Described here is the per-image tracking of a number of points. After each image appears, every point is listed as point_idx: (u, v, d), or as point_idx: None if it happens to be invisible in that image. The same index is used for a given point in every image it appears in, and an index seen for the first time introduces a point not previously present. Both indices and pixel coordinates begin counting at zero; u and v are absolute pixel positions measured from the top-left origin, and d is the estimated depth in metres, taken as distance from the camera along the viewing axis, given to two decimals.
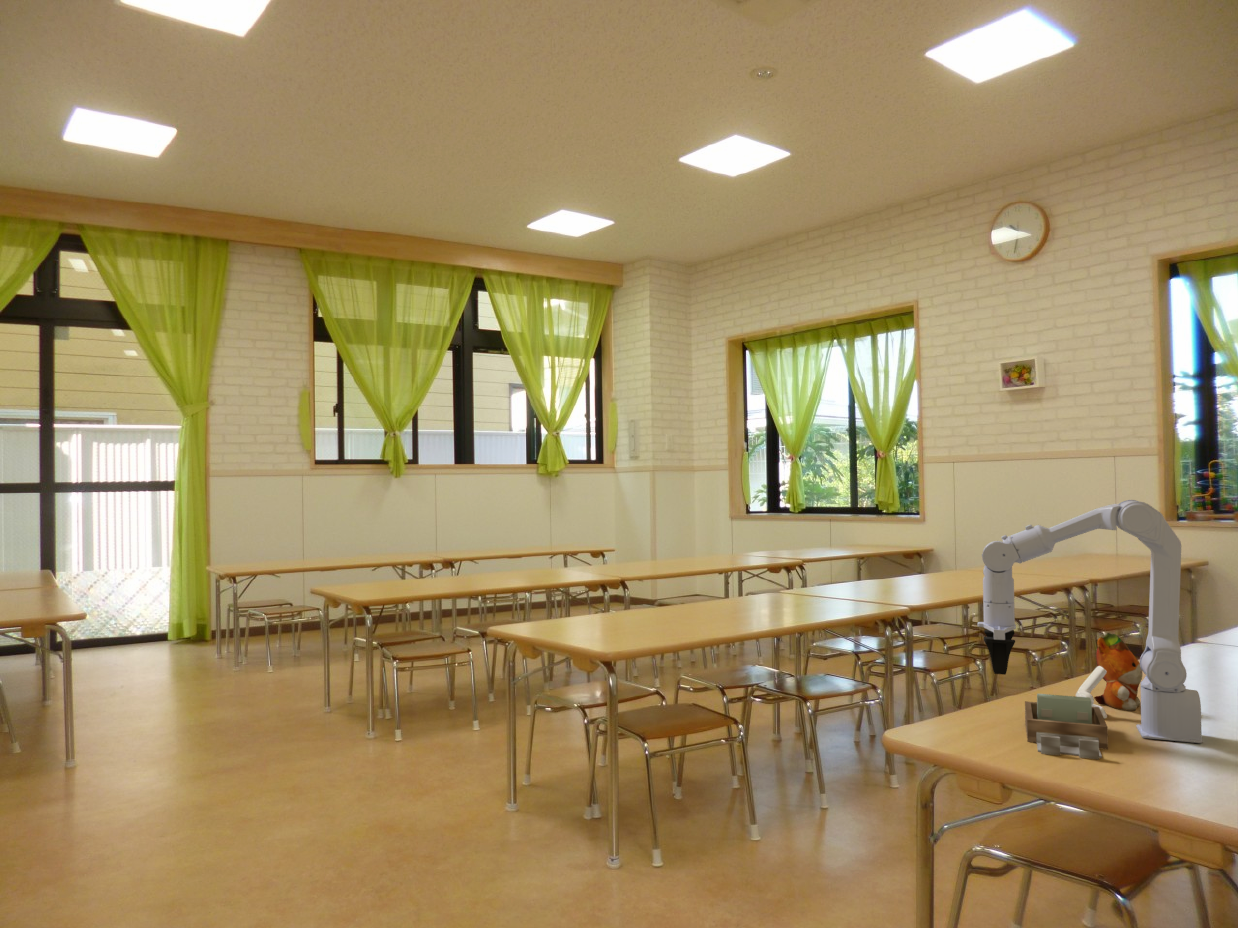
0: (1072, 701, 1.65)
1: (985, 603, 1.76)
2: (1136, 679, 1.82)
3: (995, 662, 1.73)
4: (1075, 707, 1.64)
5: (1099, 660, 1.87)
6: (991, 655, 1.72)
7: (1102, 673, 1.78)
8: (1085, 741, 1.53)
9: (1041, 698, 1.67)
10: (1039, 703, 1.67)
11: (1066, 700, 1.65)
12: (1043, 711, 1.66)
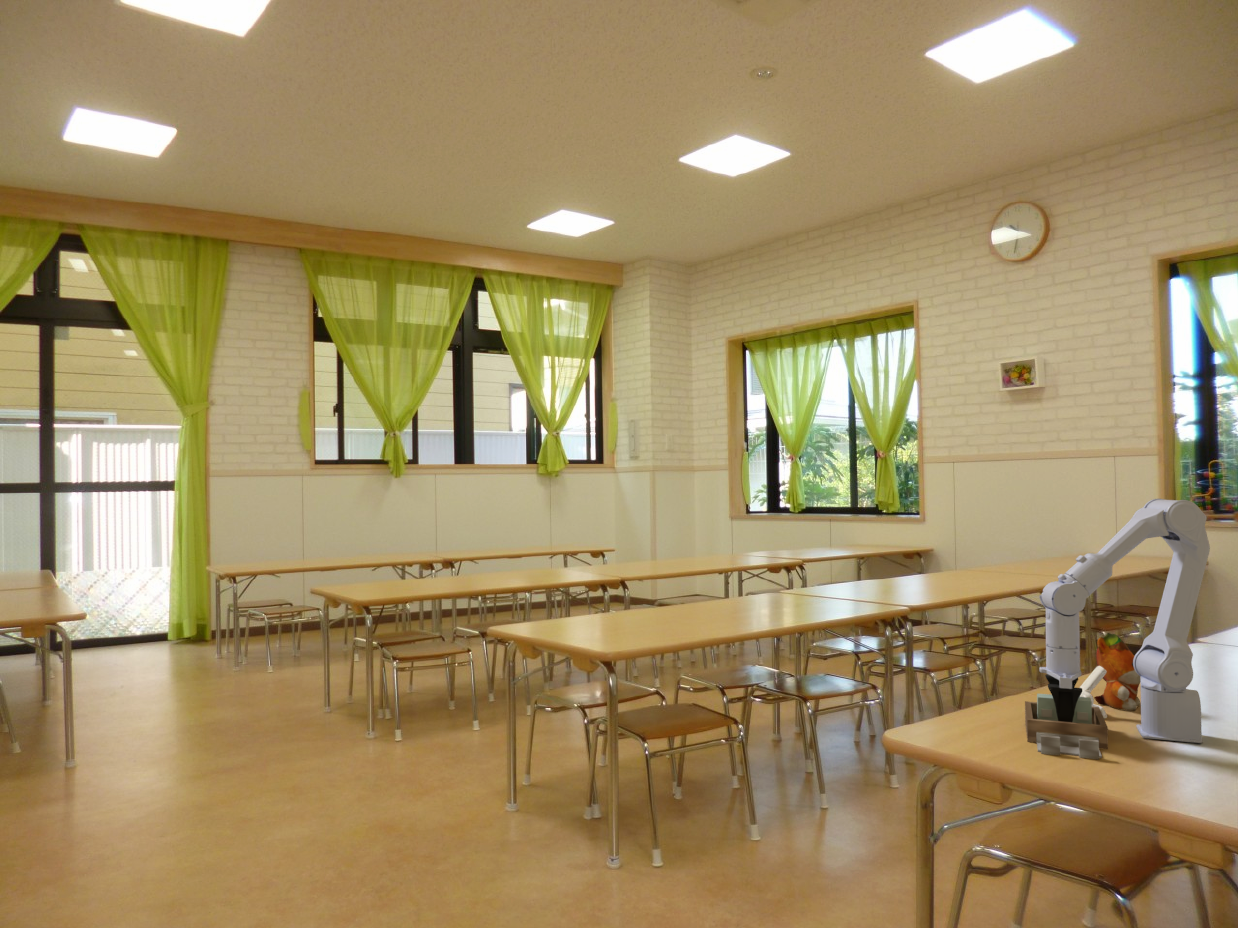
0: None
1: (1048, 648, 1.66)
2: (1136, 679, 1.82)
3: (1060, 711, 1.63)
4: (1075, 707, 1.64)
5: (1099, 660, 1.87)
6: (1056, 704, 1.63)
7: (1102, 673, 1.78)
8: (1085, 741, 1.53)
9: (1041, 698, 1.67)
10: (1039, 703, 1.67)
11: None
12: (1043, 711, 1.66)
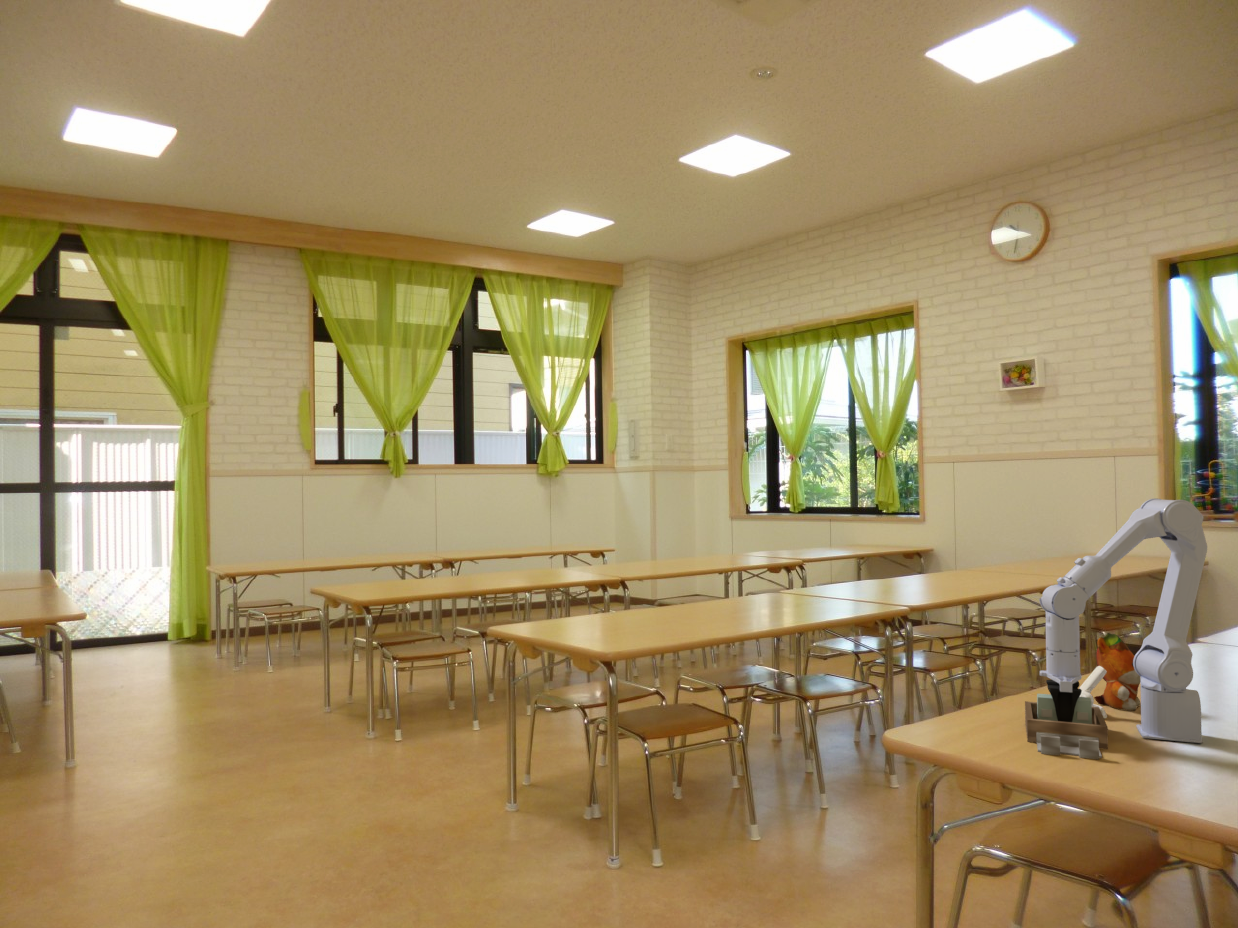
0: None
1: (1048, 651, 1.66)
2: (1136, 679, 1.82)
3: (1060, 712, 1.65)
4: (1075, 707, 1.64)
5: (1099, 660, 1.87)
6: (1056, 705, 1.64)
7: (1102, 673, 1.78)
8: (1085, 741, 1.53)
9: (1041, 698, 1.67)
10: (1039, 703, 1.67)
11: None
12: (1043, 711, 1.66)
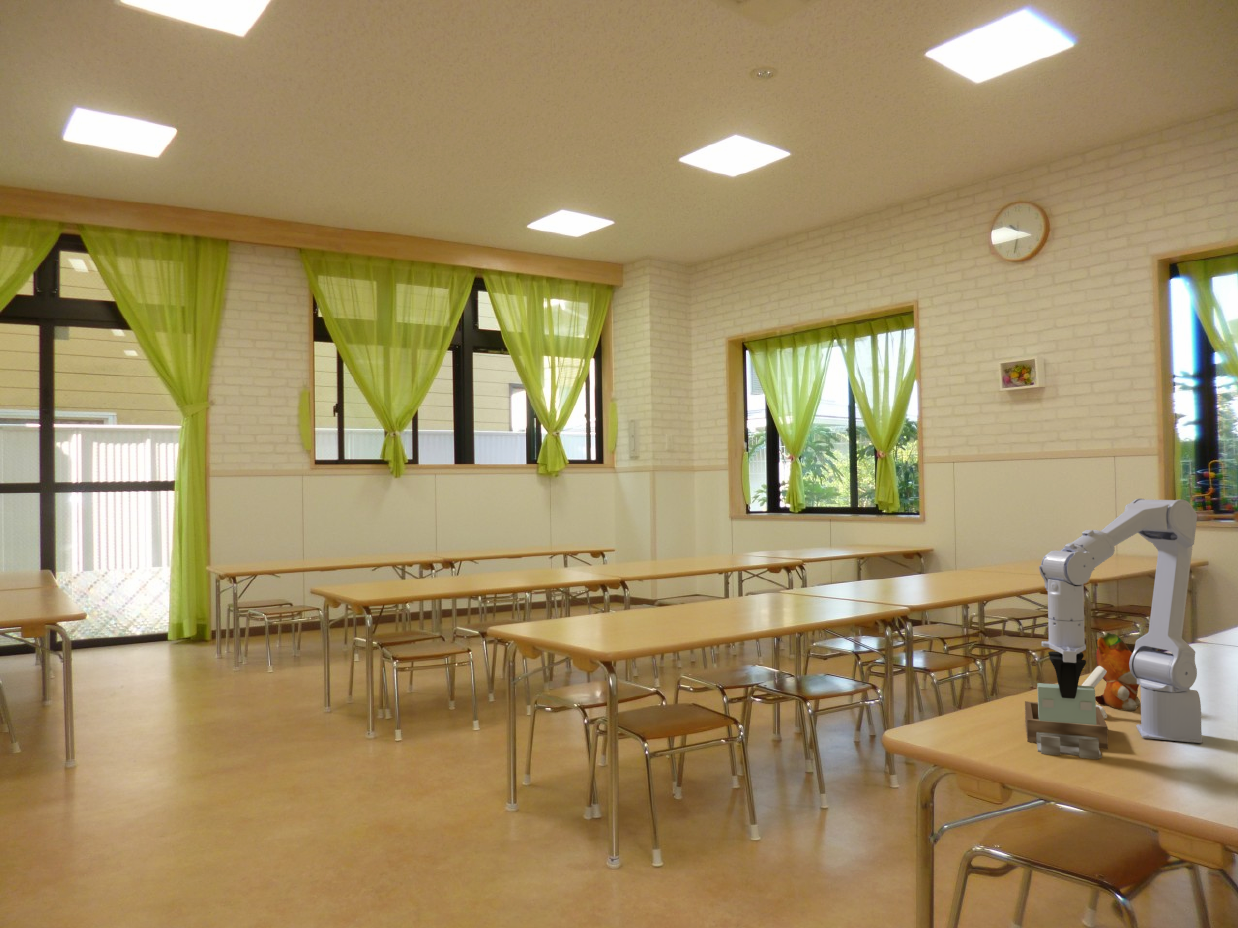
0: None
1: (1051, 620, 1.57)
2: (1136, 679, 1.82)
3: (1063, 685, 1.55)
4: (1078, 696, 1.55)
5: (1099, 660, 1.87)
6: (1058, 677, 1.55)
7: (1102, 673, 1.78)
8: (1085, 741, 1.53)
9: (1042, 688, 1.57)
10: (1040, 693, 1.57)
11: None
12: (1044, 701, 1.57)
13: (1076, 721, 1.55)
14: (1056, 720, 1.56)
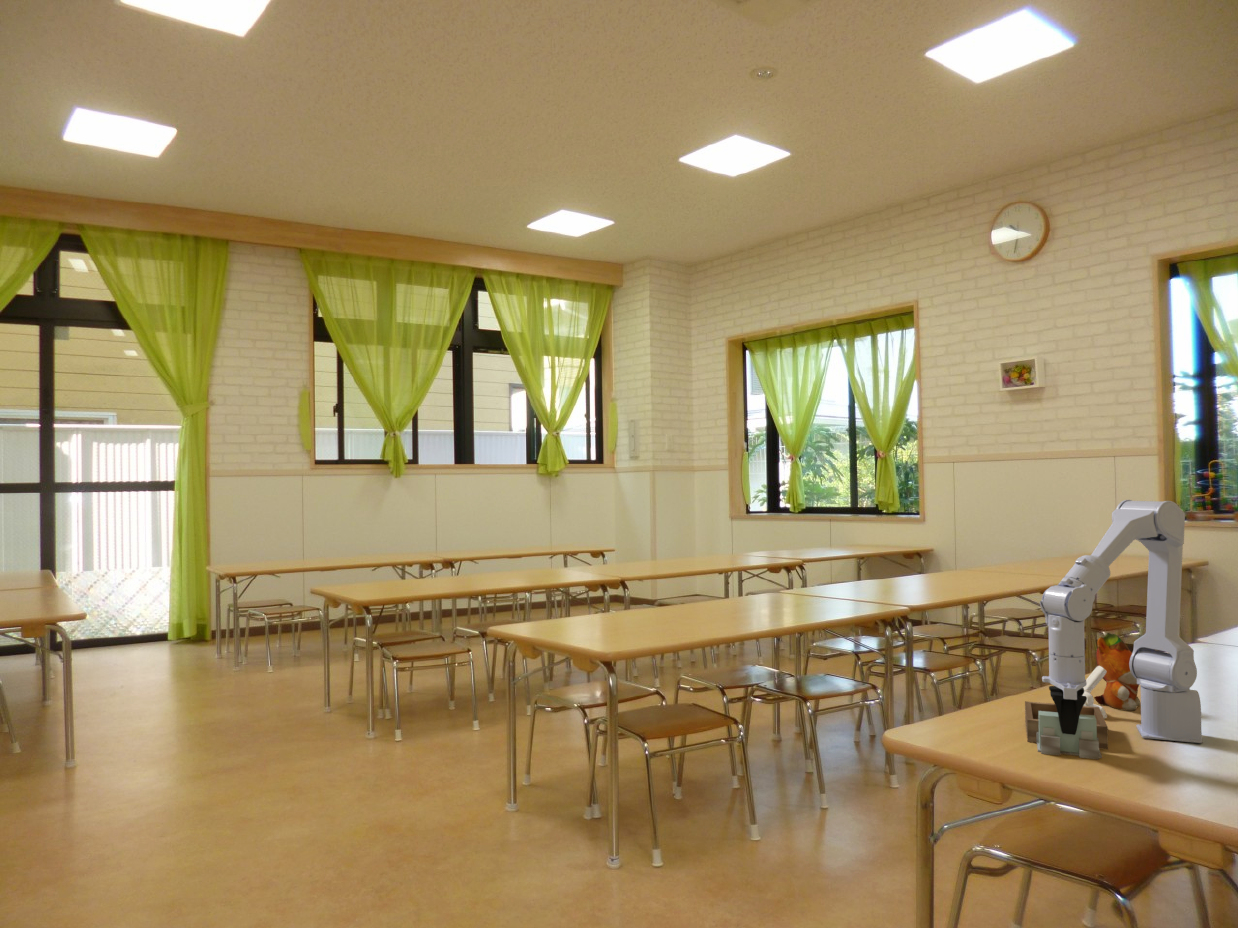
0: None
1: (1051, 656, 1.57)
2: (1136, 679, 1.82)
3: (1063, 720, 1.55)
4: (1079, 726, 1.55)
5: (1099, 660, 1.87)
6: (1059, 713, 1.55)
7: (1102, 673, 1.78)
8: (1085, 741, 1.53)
9: (1043, 716, 1.57)
10: (1041, 721, 1.57)
11: None
12: (1045, 730, 1.57)
13: (1077, 750, 1.55)
14: None
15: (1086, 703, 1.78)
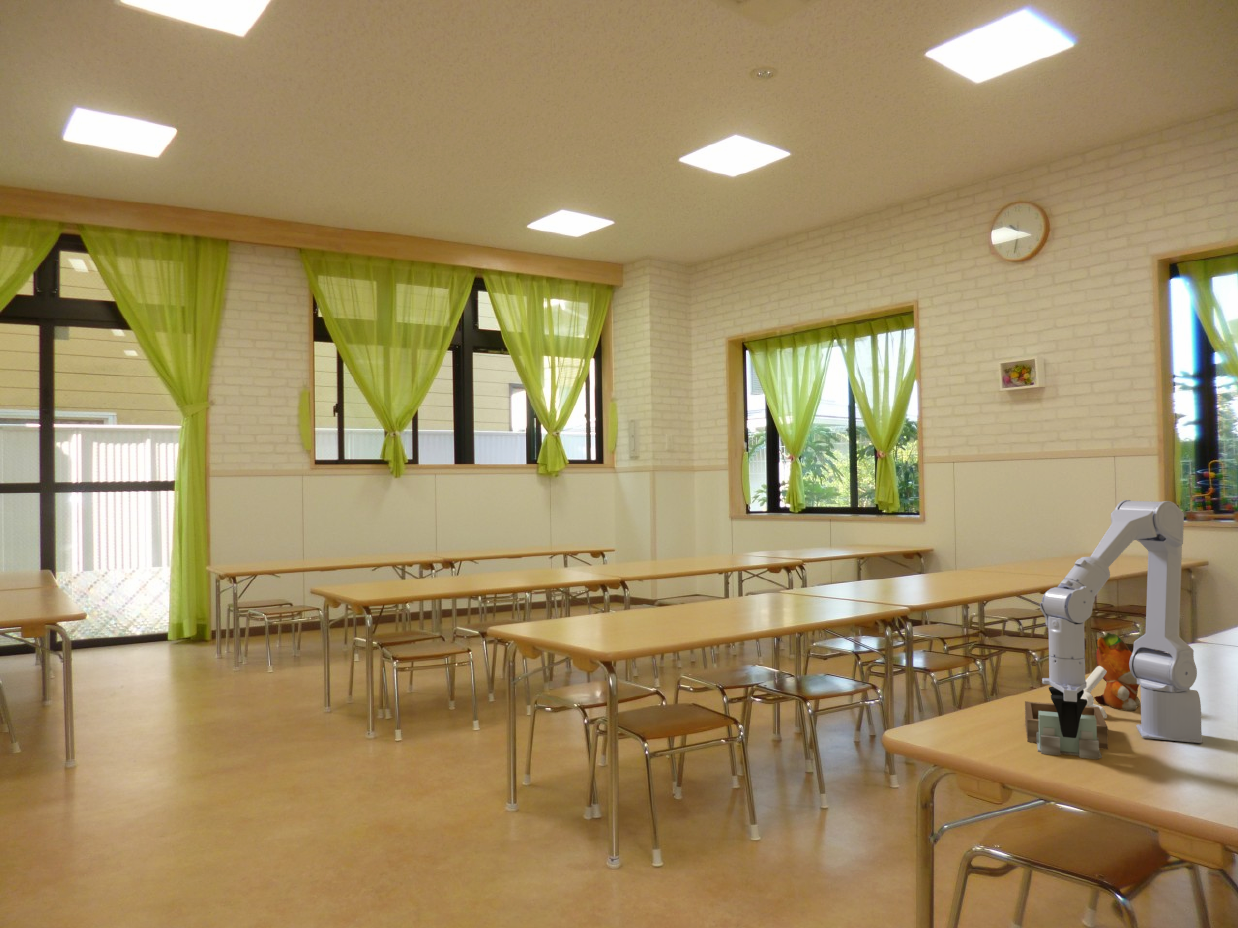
0: None
1: (1052, 658, 1.57)
2: (1136, 679, 1.82)
3: (1064, 724, 1.54)
4: (1079, 726, 1.55)
5: (1099, 660, 1.87)
6: (1060, 716, 1.54)
7: (1102, 673, 1.78)
8: (1085, 741, 1.53)
9: (1043, 716, 1.57)
10: (1041, 721, 1.57)
11: None
12: (1045, 730, 1.57)
13: (1077, 750, 1.55)
14: None
15: None
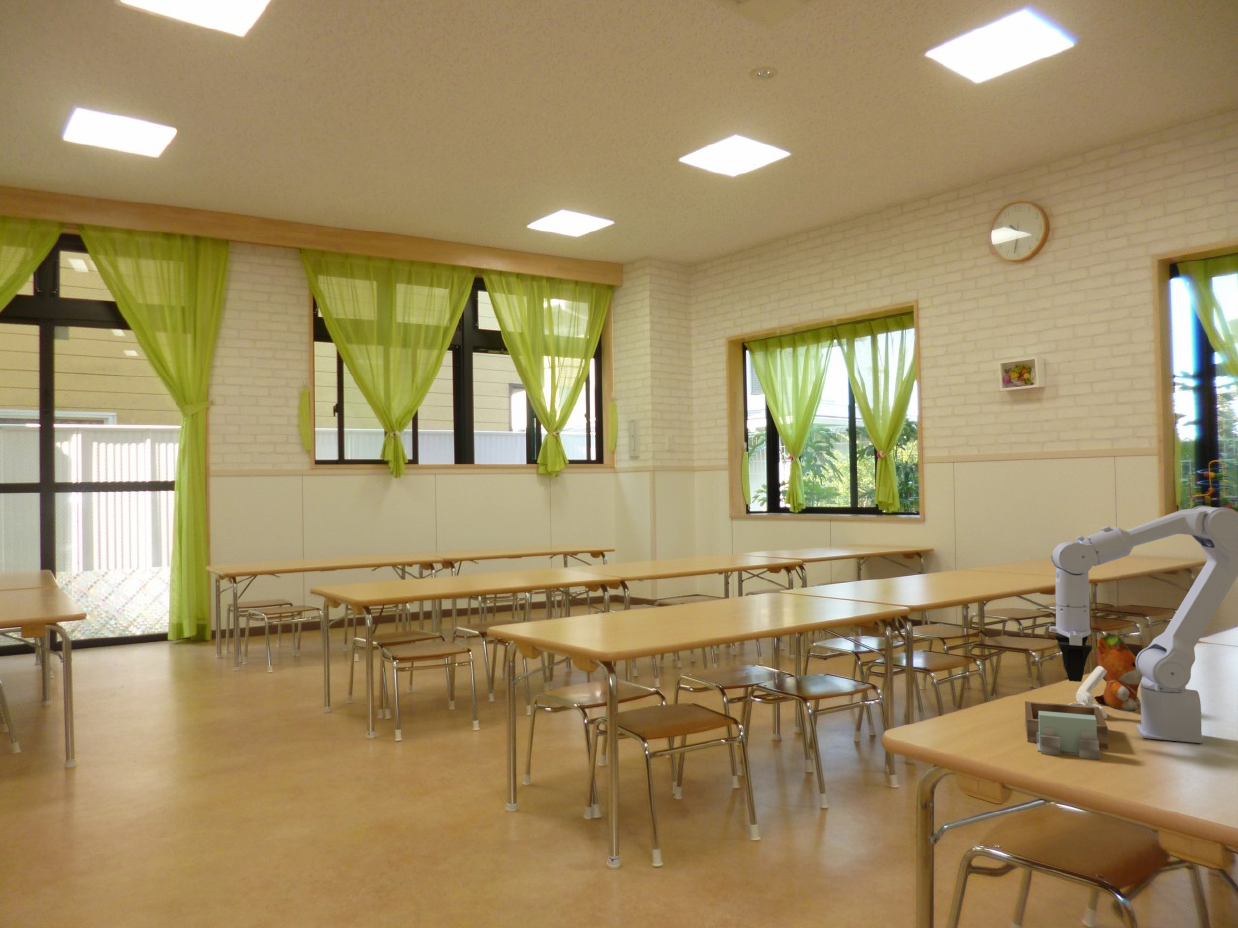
0: (1076, 719, 1.55)
1: (1058, 607, 1.68)
2: (1136, 679, 1.82)
3: (1070, 669, 1.65)
4: (1079, 726, 1.55)
5: (1099, 660, 1.87)
6: (1066, 661, 1.65)
7: (1102, 673, 1.78)
8: (1085, 741, 1.53)
9: (1043, 716, 1.57)
10: (1041, 721, 1.57)
11: (1069, 718, 1.56)
12: (1045, 730, 1.57)
13: (1077, 750, 1.55)
14: None
15: (1086, 703, 1.78)
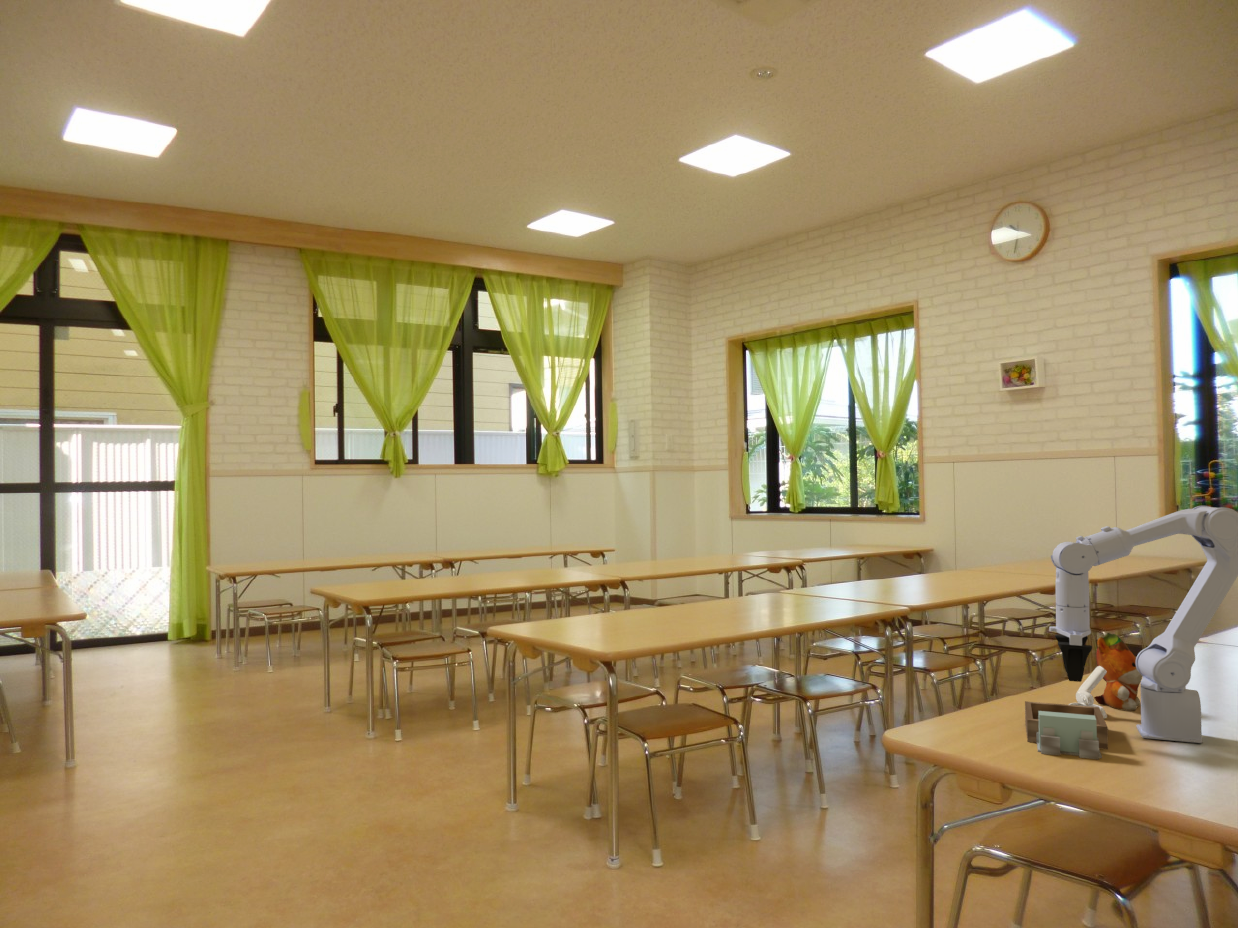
0: (1076, 719, 1.55)
1: (1058, 607, 1.68)
2: (1136, 679, 1.82)
3: (1070, 669, 1.65)
4: (1079, 726, 1.55)
5: (1099, 660, 1.87)
6: (1066, 661, 1.65)
7: (1102, 673, 1.78)
8: (1085, 741, 1.53)
9: (1043, 716, 1.57)
10: (1041, 721, 1.57)
11: (1069, 718, 1.56)
12: (1045, 730, 1.57)
13: (1077, 750, 1.55)
14: None
15: (1086, 703, 1.78)
